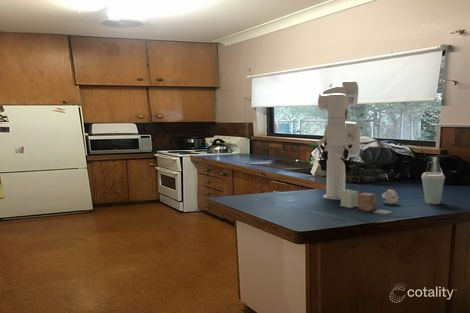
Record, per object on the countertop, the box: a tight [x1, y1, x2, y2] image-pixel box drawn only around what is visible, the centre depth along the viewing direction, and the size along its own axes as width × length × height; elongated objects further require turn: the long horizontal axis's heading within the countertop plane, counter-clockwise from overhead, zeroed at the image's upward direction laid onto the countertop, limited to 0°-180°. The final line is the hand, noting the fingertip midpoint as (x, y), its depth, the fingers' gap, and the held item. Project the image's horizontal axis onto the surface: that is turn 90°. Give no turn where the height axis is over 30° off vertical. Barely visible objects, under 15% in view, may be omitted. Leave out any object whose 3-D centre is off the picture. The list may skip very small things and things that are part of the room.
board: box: [339, 204, 394, 216], centre depth 182 cm, size 14×24×1 cm, turn 39°
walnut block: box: [357, 192, 377, 212], centre depth 181 cm, size 6×6×7 cm
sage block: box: [340, 189, 359, 208], centre depth 189 cm, size 6×6×7 cm
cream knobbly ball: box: [379, 187, 401, 206], centre depth 193 cm, size 9×8×10 cm
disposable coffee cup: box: [421, 171, 446, 205], centre depth 196 cm, size 11×11×15 cm
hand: (335, 159), depth 179 cm, fingers open, 9 cm apart
